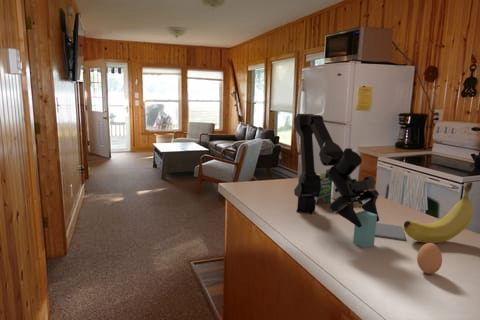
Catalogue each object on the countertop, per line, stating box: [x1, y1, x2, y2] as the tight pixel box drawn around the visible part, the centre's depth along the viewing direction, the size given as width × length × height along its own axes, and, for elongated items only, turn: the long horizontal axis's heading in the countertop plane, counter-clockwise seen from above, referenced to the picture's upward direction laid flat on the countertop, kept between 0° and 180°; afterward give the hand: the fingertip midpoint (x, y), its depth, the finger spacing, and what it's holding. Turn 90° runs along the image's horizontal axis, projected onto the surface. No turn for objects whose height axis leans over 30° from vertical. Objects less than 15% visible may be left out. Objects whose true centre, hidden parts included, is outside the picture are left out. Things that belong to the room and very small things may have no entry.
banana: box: [403, 181, 474, 244], centre depth 109 cm, size 23×6×20 cm, turn 98°
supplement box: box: [331, 174, 352, 200], centre depth 157 cm, size 7×7×13 cm
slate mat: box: [375, 222, 407, 241], centre depth 119 cm, size 12×12×1 cm
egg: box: [416, 243, 443, 275], centre depth 90 cm, size 6×6×8 cm
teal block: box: [352, 210, 377, 249], centre depth 107 cm, size 4×4×10 cm
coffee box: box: [314, 172, 332, 205], centre depth 148 cm, size 8×3×13 cm, turn 115°
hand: (369, 223), depth 106 cm, fingers open, 9 cm apart
